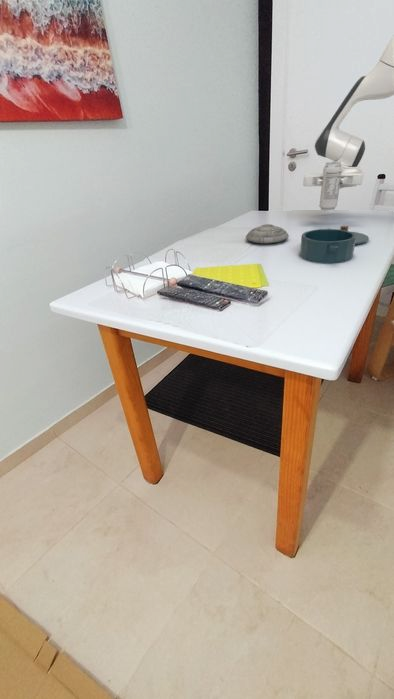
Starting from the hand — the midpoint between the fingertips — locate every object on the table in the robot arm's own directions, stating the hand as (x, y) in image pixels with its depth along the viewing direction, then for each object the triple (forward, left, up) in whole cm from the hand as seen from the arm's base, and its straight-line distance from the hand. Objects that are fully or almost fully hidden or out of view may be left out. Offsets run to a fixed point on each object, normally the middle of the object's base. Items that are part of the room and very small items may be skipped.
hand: (330, 182), depth 117 cm
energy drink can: (0, -1, -9) cm, 9 cm away
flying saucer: (+22, +11, -17) cm, 30 cm away
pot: (+5, +30, -16) cm, 35 cm away
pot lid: (-3, +14, -16) cm, 22 cm away
